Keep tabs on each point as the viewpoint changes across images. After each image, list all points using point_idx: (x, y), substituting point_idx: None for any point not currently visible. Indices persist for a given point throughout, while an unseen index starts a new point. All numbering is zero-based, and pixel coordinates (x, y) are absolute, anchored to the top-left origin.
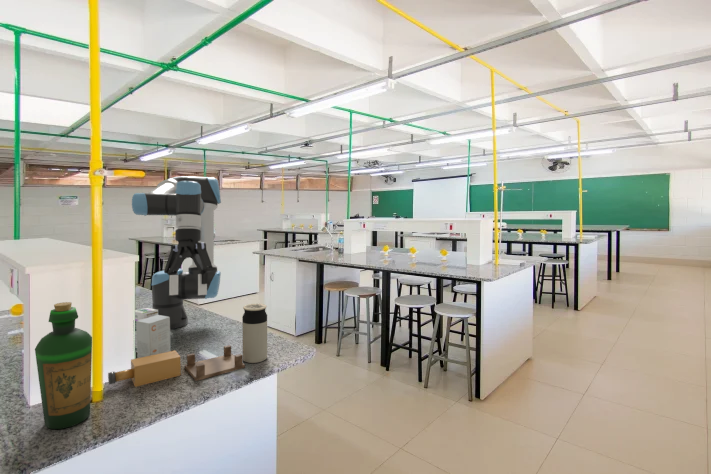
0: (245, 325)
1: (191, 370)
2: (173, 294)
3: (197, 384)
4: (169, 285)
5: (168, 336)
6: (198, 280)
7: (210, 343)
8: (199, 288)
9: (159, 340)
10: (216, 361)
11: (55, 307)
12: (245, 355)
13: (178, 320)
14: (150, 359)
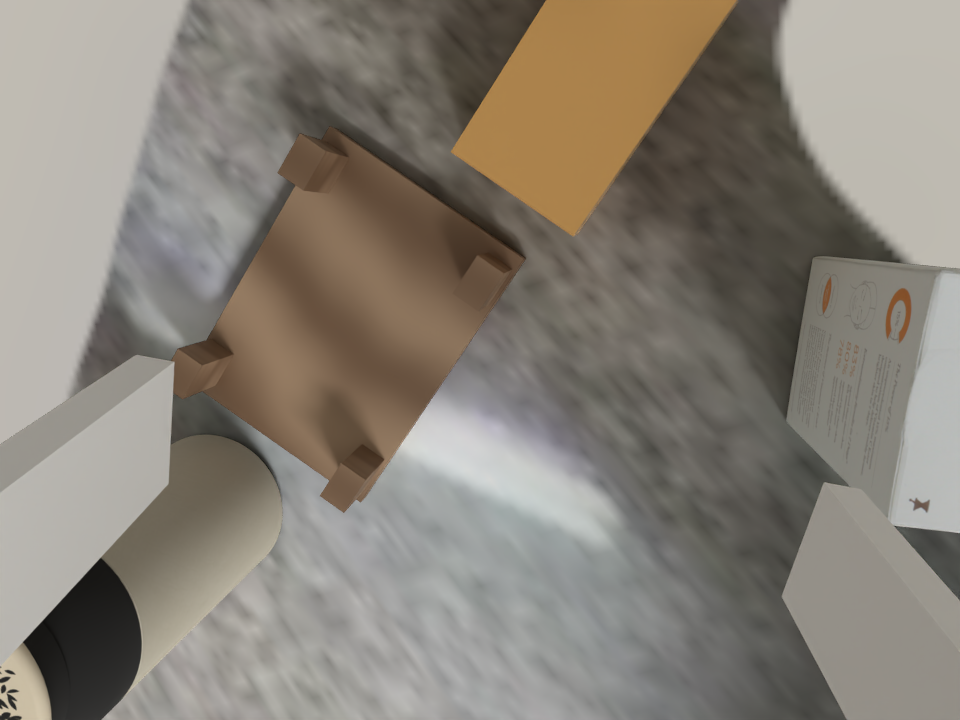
0: None
1: (423, 203)
2: (811, 529)
3: (299, 99)
4: (946, 588)
5: (826, 442)
6: (20, 465)
7: (638, 650)
8: (86, 395)
9: (839, 350)
10: (368, 367)
11: None
12: (209, 450)
13: None
14: (618, 23)
